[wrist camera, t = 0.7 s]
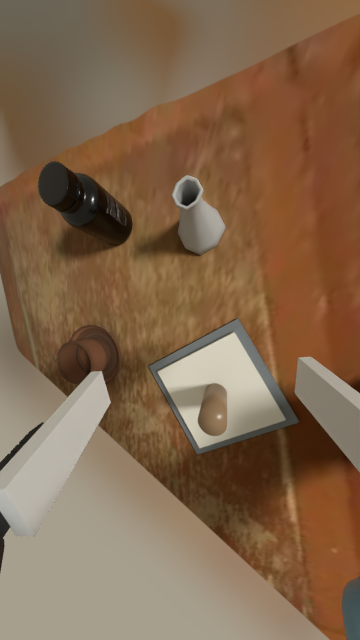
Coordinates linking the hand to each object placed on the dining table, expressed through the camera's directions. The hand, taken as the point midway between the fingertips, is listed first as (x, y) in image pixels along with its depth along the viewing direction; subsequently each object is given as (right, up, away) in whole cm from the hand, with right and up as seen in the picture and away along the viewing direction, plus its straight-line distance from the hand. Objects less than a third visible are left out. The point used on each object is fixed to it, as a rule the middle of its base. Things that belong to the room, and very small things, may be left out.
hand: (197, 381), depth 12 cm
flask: (+2, +18, +16) cm, 25 cm away
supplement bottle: (-13, +21, +20) cm, 32 cm away
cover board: (+5, -8, +17) cm, 19 cm away
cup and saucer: (-18, -3, +24) cm, 30 cm away
